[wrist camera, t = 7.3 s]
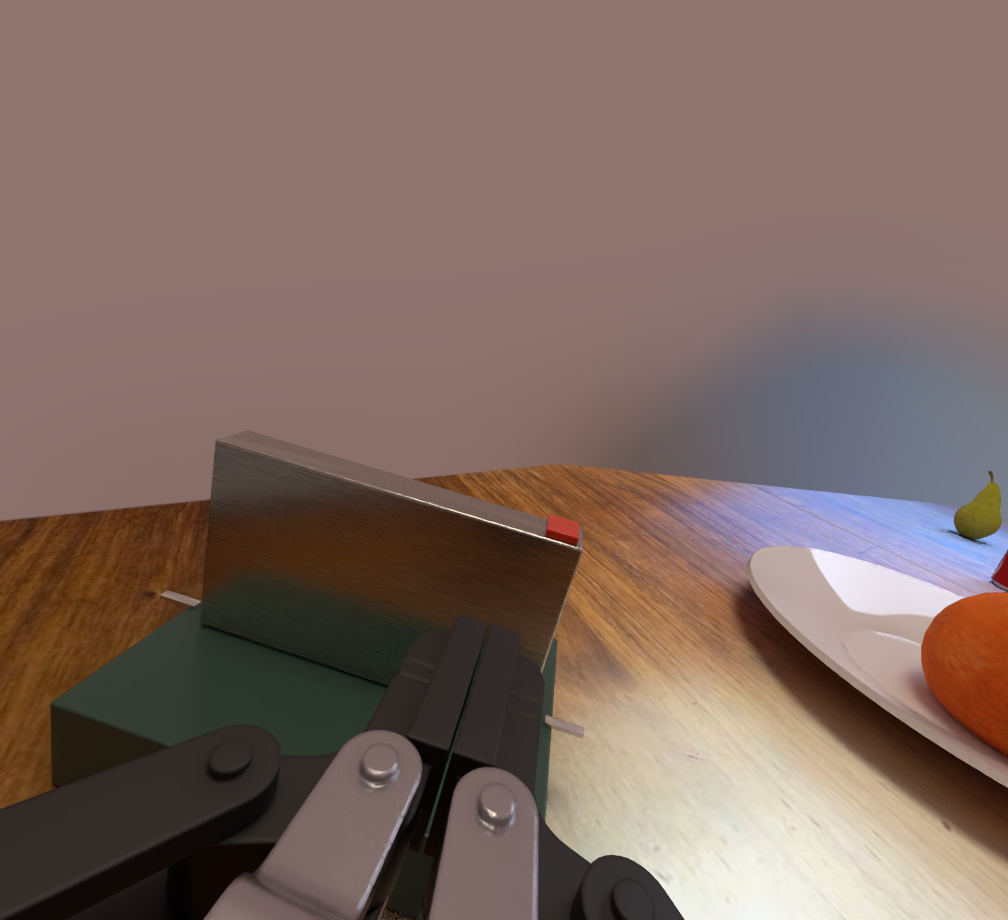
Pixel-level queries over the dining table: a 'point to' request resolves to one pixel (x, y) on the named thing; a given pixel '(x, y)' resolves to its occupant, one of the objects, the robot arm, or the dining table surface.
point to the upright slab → (370, 559)
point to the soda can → (1001, 573)
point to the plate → (900, 645)
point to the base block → (236, 710)
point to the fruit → (980, 513)
